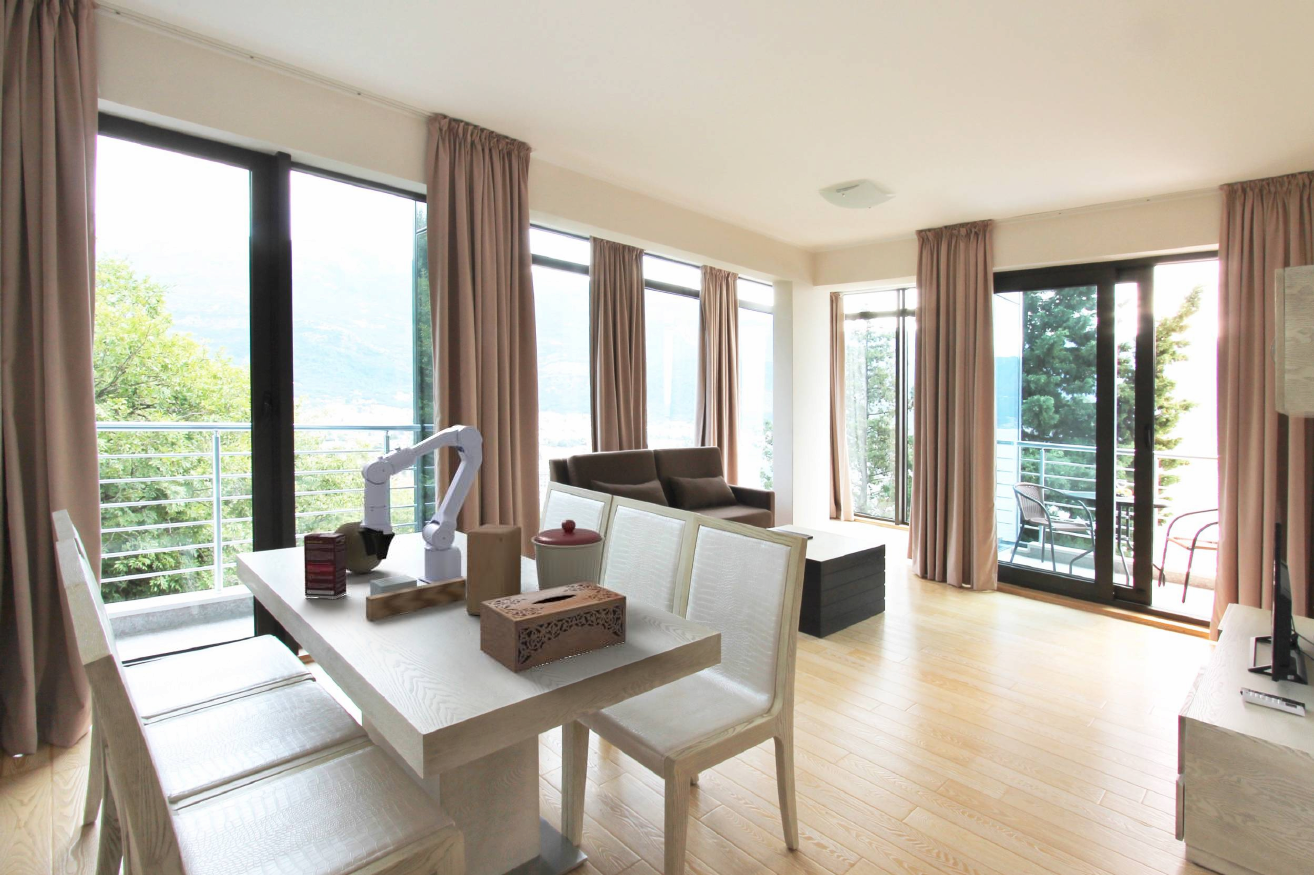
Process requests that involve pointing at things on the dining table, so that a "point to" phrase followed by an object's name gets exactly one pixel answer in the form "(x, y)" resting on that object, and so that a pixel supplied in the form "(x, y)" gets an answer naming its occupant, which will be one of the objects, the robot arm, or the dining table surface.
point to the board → (415, 598)
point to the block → (391, 584)
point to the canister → (567, 556)
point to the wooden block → (492, 564)
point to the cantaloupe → (356, 550)
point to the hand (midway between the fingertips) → (376, 557)
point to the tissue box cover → (551, 624)
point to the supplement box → (325, 565)
